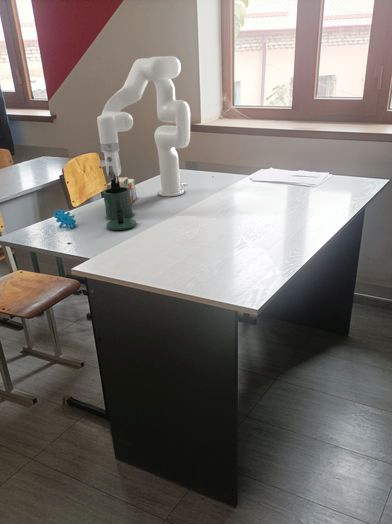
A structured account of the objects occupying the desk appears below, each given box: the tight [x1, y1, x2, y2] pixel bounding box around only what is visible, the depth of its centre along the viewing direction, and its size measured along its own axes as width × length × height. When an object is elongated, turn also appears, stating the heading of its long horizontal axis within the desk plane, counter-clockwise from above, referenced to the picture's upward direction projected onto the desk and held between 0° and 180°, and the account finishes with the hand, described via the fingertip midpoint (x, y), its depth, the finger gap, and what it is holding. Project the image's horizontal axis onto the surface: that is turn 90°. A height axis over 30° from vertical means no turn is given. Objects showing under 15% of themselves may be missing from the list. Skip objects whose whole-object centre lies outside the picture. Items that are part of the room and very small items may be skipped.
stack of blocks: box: [106, 176, 138, 204], centre depth 240 cm, size 21×6×12 cm, turn 168°
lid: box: [105, 210, 137, 231], centre depth 213 cm, size 13×13×7 cm
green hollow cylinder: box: [102, 187, 134, 221], centre depth 224 cm, size 12×12×12 cm
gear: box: [53, 208, 77, 230], centre depth 218 cm, size 11×6×10 cm
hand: (116, 191), depth 221 cm, fingers closed on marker, 2 cm apart
